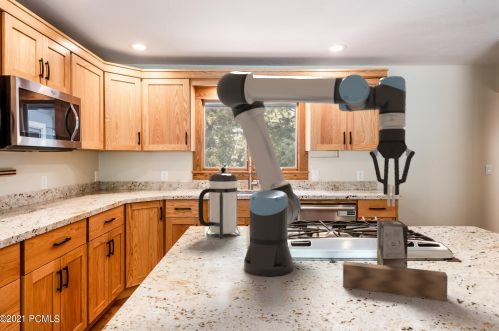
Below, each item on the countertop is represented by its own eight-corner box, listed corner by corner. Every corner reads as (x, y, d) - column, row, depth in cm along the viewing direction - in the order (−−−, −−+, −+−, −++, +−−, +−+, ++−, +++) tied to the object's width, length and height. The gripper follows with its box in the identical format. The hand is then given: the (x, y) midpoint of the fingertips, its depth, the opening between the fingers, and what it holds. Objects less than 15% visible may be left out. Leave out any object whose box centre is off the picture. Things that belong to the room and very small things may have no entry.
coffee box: (408, 287, 88) (408, 226, 88) (382, 285, 89) (382, 225, 89) (399, 275, 97) (400, 220, 97) (376, 273, 98) (376, 219, 98)
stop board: (342, 286, 88) (343, 264, 88) (344, 282, 91) (344, 260, 91) (447, 301, 80) (447, 276, 79) (444, 296, 82) (445, 272, 82)
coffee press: (208, 230, 157) (208, 166, 156) (242, 231, 155) (242, 166, 154) (198, 239, 140) (197, 167, 139) (235, 240, 137) (235, 167, 137)
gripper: (367, 128, 101) (366, 206, 102) (418, 126, 96) (417, 208, 97) (368, 130, 108) (367, 203, 109) (415, 128, 103) (414, 205, 104)
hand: (391, 205), depth 103 cm, fingers closed
